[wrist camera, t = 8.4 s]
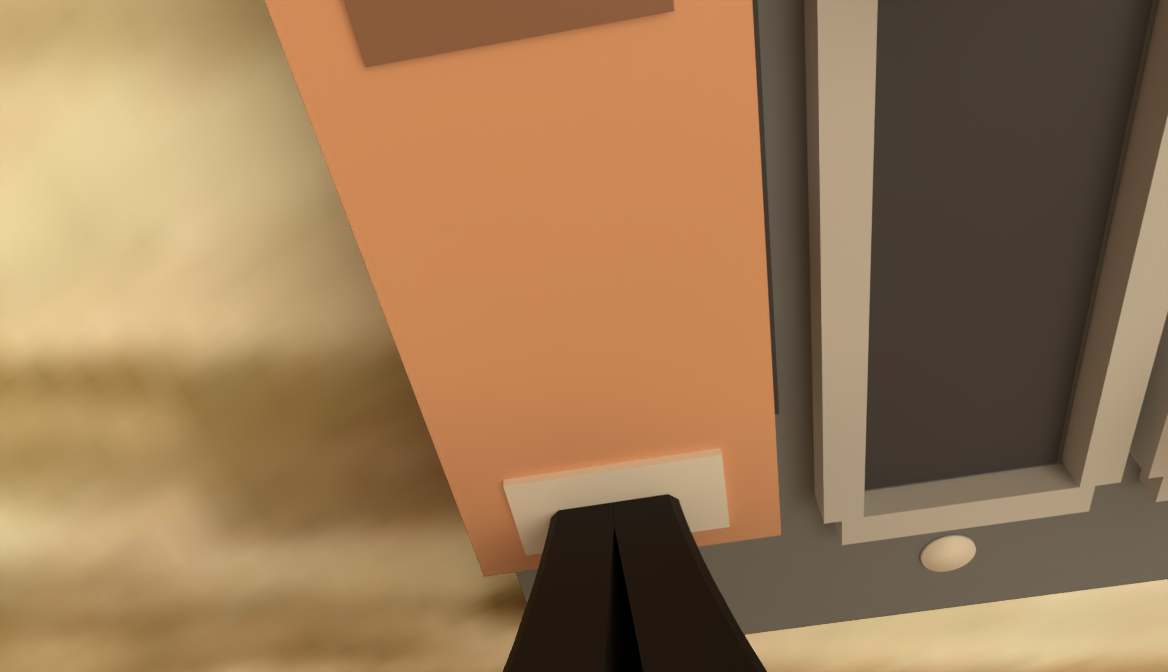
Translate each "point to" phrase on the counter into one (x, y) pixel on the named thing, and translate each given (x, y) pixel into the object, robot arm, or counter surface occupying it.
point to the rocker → (560, 246)
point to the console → (959, 305)
